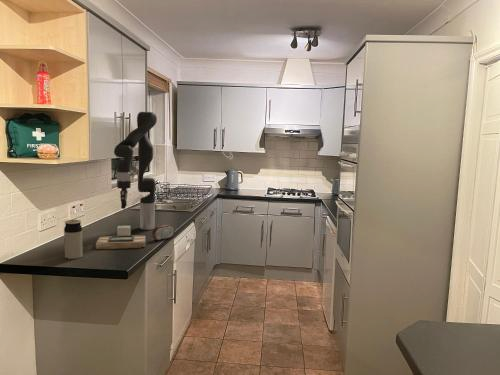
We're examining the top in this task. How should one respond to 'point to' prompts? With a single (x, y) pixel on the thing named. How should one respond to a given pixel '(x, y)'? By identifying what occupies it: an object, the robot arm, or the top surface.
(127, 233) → the white block
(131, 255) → the top surface
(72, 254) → the travel mug
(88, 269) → the top surface
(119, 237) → the loading dock
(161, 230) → the tin
